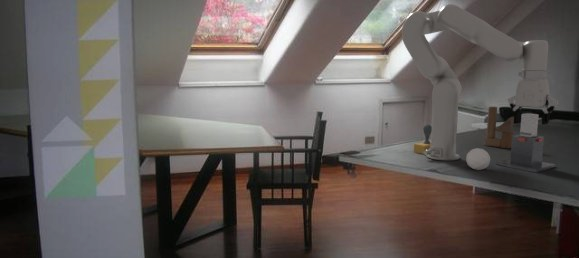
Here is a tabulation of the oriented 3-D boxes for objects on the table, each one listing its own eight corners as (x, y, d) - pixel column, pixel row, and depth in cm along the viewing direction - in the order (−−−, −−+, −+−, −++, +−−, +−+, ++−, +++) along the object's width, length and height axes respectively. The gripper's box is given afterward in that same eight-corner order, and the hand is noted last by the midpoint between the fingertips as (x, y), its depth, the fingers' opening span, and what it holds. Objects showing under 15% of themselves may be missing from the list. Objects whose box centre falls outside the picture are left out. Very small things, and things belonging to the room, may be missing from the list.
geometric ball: (477, 175, 152) (486, 156, 153) (488, 173, 144) (498, 153, 146) (458, 164, 153) (468, 146, 154) (468, 161, 145) (478, 142, 146)
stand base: (535, 172, 145) (538, 141, 143) (496, 164, 157) (499, 135, 155) (555, 166, 153) (558, 137, 151) (516, 159, 164) (519, 132, 163)
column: (528, 164, 151) (532, 115, 149) (517, 162, 155) (521, 114, 152) (534, 162, 154) (539, 114, 151) (523, 160, 157) (527, 113, 155)
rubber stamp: (424, 154, 175) (425, 126, 173) (413, 152, 180) (414, 124, 178) (439, 151, 180) (441, 124, 178) (428, 149, 185) (429, 122, 183)
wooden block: (508, 148, 185) (512, 108, 183) (484, 145, 193) (486, 106, 190) (511, 147, 188) (515, 107, 185) (487, 144, 196) (490, 106, 193)
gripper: (504, 75, 155) (501, 121, 157) (554, 75, 140) (551, 126, 143) (515, 75, 159) (512, 119, 161) (565, 75, 144) (561, 124, 147)
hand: (530, 122), depth 152 cm, fingers open, 9 cm apart
